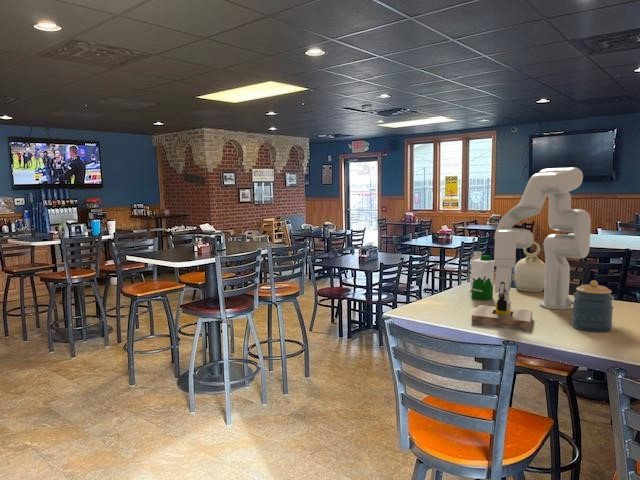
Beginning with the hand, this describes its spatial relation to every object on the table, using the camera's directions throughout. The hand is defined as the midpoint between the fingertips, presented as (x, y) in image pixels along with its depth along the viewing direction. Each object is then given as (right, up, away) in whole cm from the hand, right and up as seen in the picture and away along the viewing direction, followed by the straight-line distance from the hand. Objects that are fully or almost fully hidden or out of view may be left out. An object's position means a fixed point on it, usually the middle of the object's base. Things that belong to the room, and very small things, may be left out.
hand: (502, 308), depth 181 cm
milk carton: (+6, -2, +41) cm, 41 cm away
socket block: (0, -5, 0) cm, 5 cm away
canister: (+30, -6, -8) cm, 31 cm away
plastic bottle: (+9, 0, +58) cm, 59 cm away
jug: (+37, 0, +61) cm, 71 cm away
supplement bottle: (0, -5, +1) cm, 5 cm away
